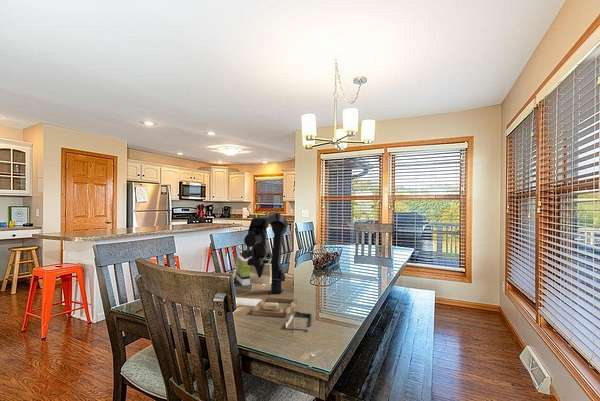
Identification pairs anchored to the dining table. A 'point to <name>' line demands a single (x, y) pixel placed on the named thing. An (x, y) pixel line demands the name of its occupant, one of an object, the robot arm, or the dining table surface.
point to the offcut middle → (271, 309)
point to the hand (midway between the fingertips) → (260, 276)
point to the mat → (248, 301)
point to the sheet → (265, 277)
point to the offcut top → (270, 305)
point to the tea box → (243, 270)
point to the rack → (270, 313)
